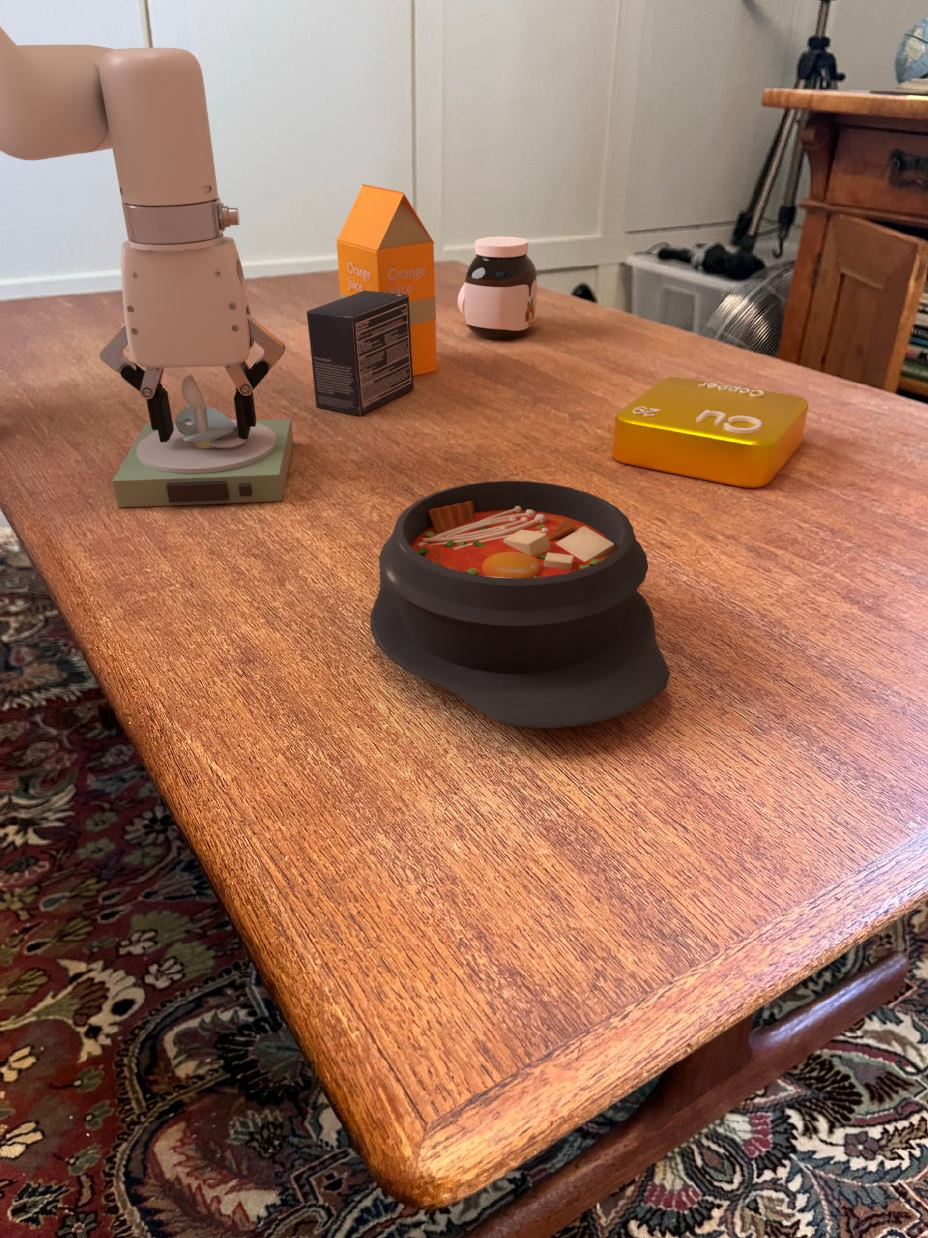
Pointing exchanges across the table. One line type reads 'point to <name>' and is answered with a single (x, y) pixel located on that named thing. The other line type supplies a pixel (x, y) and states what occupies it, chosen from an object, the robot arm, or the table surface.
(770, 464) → the element tile
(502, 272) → the spread jar
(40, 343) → the table surface
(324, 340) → the small box
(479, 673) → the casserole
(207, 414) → the pacifier
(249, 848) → the table surface
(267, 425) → the scale
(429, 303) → the orange juice
